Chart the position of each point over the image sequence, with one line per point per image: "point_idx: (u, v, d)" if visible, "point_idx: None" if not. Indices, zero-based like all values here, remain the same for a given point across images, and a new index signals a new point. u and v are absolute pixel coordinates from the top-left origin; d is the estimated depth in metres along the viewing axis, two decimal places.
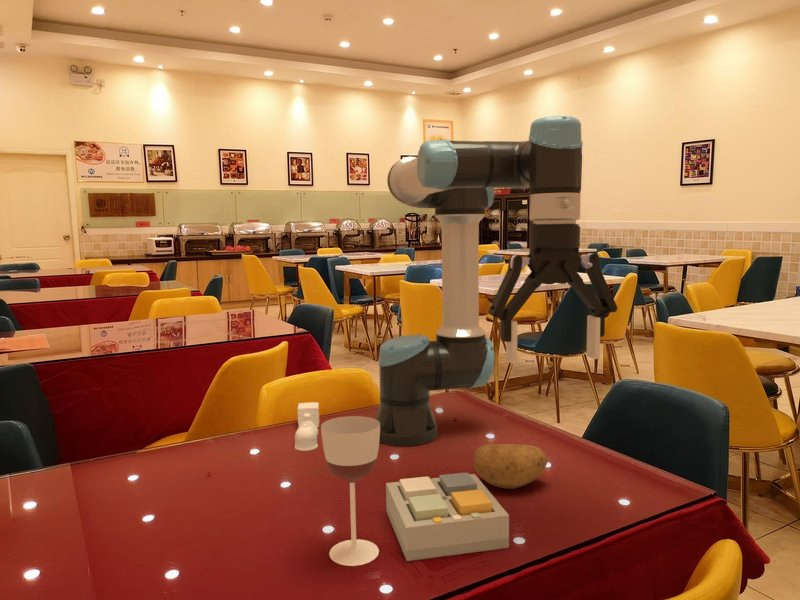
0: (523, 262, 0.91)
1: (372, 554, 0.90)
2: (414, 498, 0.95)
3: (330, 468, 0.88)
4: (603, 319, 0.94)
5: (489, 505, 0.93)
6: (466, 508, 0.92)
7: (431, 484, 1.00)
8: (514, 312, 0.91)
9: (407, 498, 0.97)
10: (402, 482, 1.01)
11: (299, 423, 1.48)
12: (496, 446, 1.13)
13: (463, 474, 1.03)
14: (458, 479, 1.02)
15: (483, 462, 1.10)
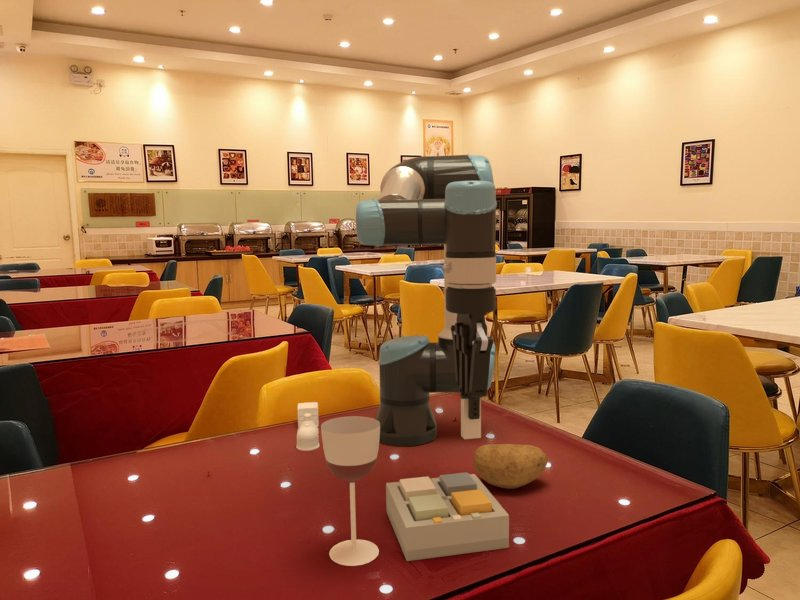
0: None
1: (372, 554, 0.90)
2: (414, 498, 0.95)
3: (330, 468, 0.88)
4: (470, 402, 0.91)
5: (489, 505, 0.93)
6: (466, 508, 0.92)
7: (431, 484, 1.00)
8: (461, 383, 0.93)
9: (407, 498, 0.97)
10: (402, 482, 1.01)
11: (299, 423, 1.48)
12: (496, 446, 1.13)
13: (463, 474, 1.03)
14: (458, 479, 1.02)
15: (483, 462, 1.10)
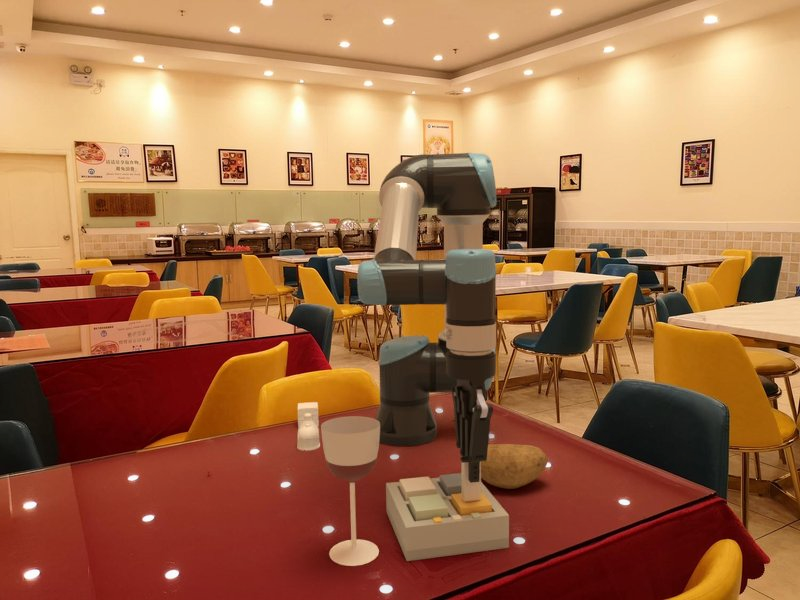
0: None
1: (372, 554, 0.90)
2: (414, 498, 0.95)
3: (330, 468, 0.88)
4: (470, 465, 0.92)
5: (489, 507, 0.93)
6: (466, 510, 0.92)
7: (431, 484, 1.00)
8: (461, 445, 0.94)
9: (407, 498, 0.97)
10: (402, 482, 1.01)
11: (299, 423, 1.48)
12: (496, 446, 1.13)
13: None
14: (458, 479, 1.02)
15: (483, 462, 1.10)
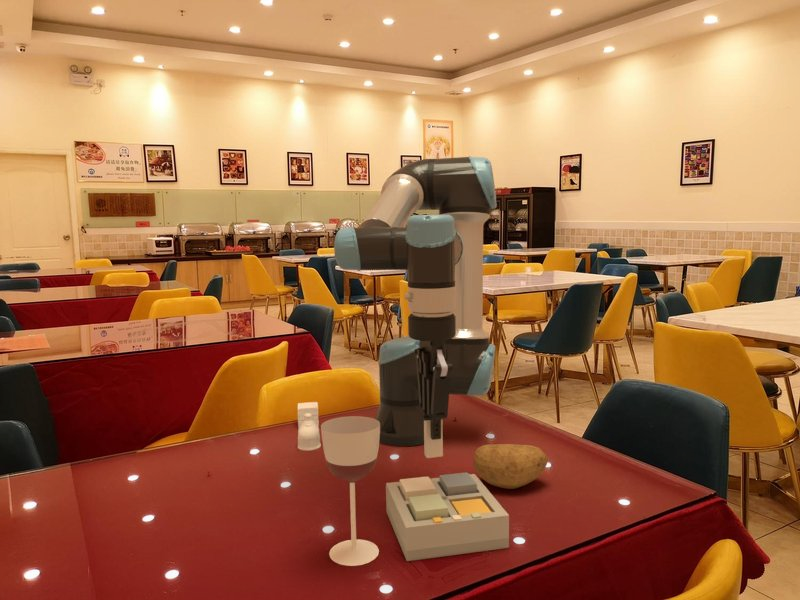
0: None
1: (372, 554, 0.90)
2: (414, 498, 0.95)
3: (330, 468, 0.88)
4: (432, 423, 0.96)
5: None
6: None
7: (431, 484, 1.00)
8: (423, 405, 0.98)
9: (407, 498, 0.97)
10: (402, 482, 1.01)
11: (299, 423, 1.48)
12: (496, 446, 1.13)
13: (463, 474, 1.03)
14: (458, 479, 1.02)
15: (483, 462, 1.10)
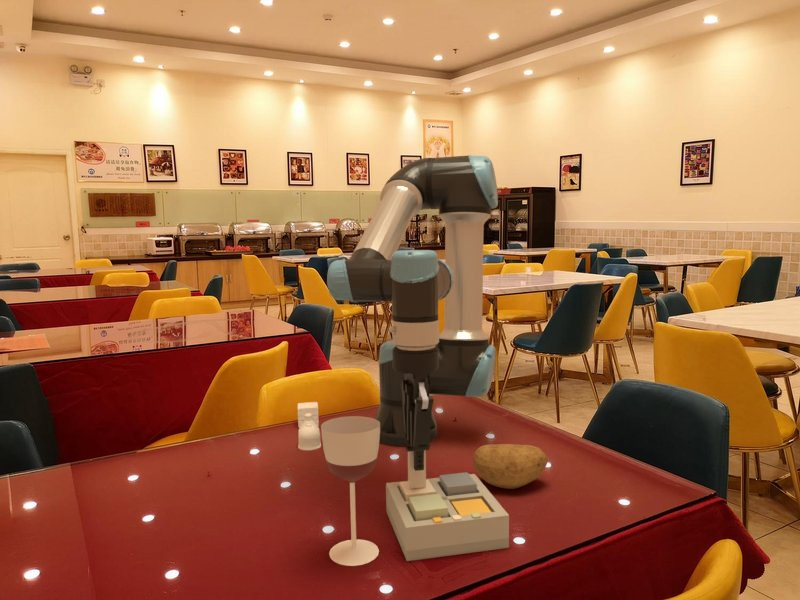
0: None
1: (372, 554, 0.90)
2: (414, 498, 0.95)
3: (330, 468, 0.88)
4: (415, 454, 0.97)
5: None
6: None
7: (431, 487, 1.00)
8: (407, 436, 1.00)
9: None
10: (402, 485, 1.01)
11: (299, 423, 1.48)
12: (496, 446, 1.13)
13: (463, 474, 1.03)
14: (458, 479, 1.02)
15: (483, 462, 1.10)
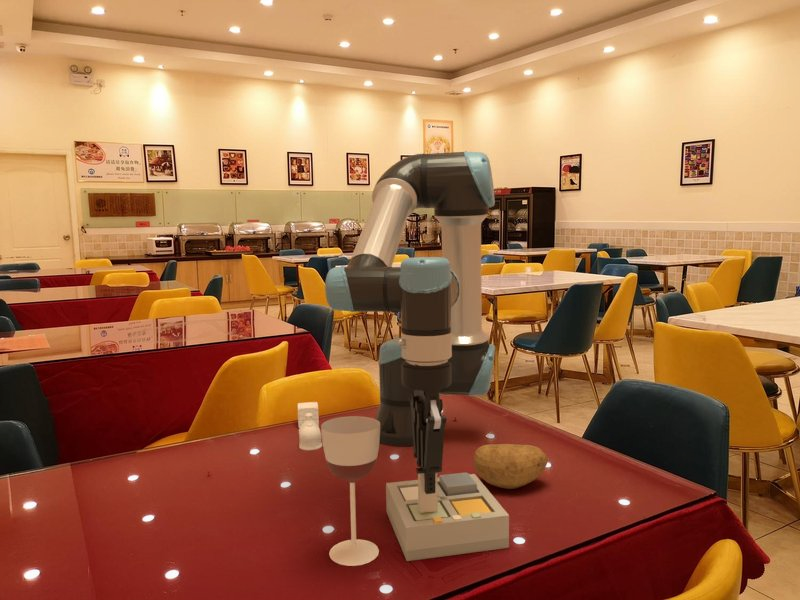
0: None
1: (372, 554, 0.90)
2: (414, 506, 0.95)
3: (330, 468, 0.88)
4: (425, 476, 0.91)
5: None
6: None
7: None
8: (418, 456, 0.93)
9: None
10: (402, 491, 1.01)
11: (299, 423, 1.48)
12: (496, 446, 1.13)
13: (463, 474, 1.03)
14: (458, 479, 1.02)
15: (483, 462, 1.10)
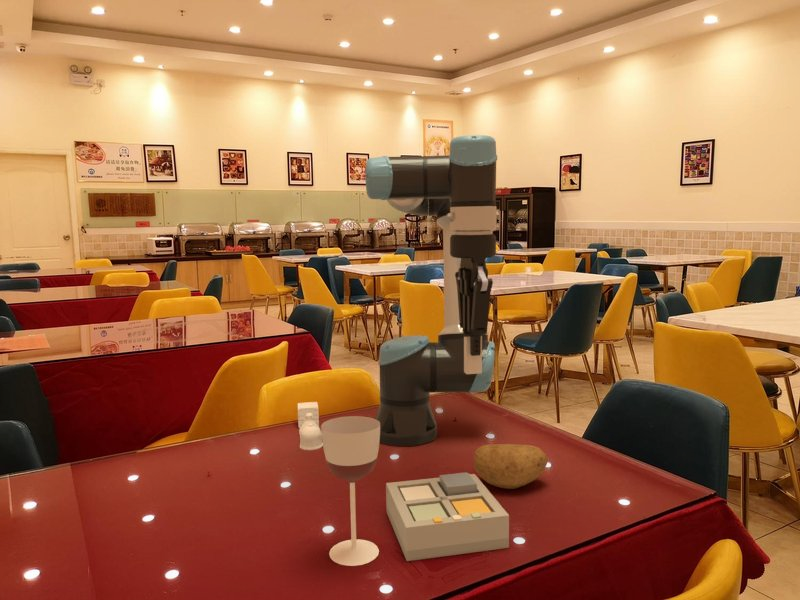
0: None
1: (372, 554, 0.90)
2: (414, 507, 0.95)
3: (330, 468, 0.88)
4: (472, 339, 1.00)
5: None
6: None
7: (431, 493, 1.00)
8: (464, 323, 1.02)
9: None
10: (402, 491, 1.01)
11: (299, 423, 1.48)
12: (496, 446, 1.13)
13: (463, 474, 1.03)
14: (458, 479, 1.02)
15: (483, 462, 1.10)
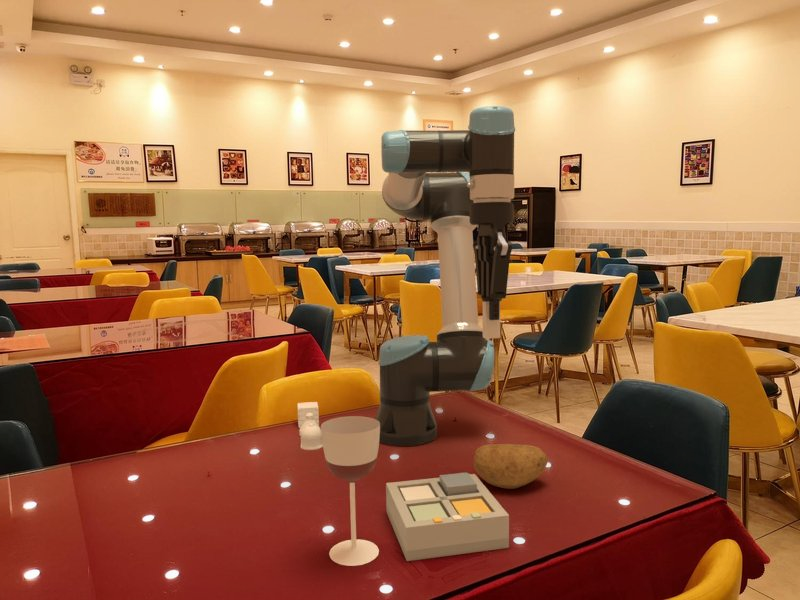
0: None
1: (372, 554, 0.90)
2: (414, 507, 0.95)
3: (330, 468, 0.88)
4: (491, 304, 1.03)
5: None
6: None
7: (431, 493, 1.00)
8: (482, 290, 1.05)
9: None
10: (402, 491, 1.01)
11: (299, 423, 1.48)
12: (496, 446, 1.13)
13: (463, 474, 1.03)
14: (458, 479, 1.02)
15: (483, 462, 1.10)
